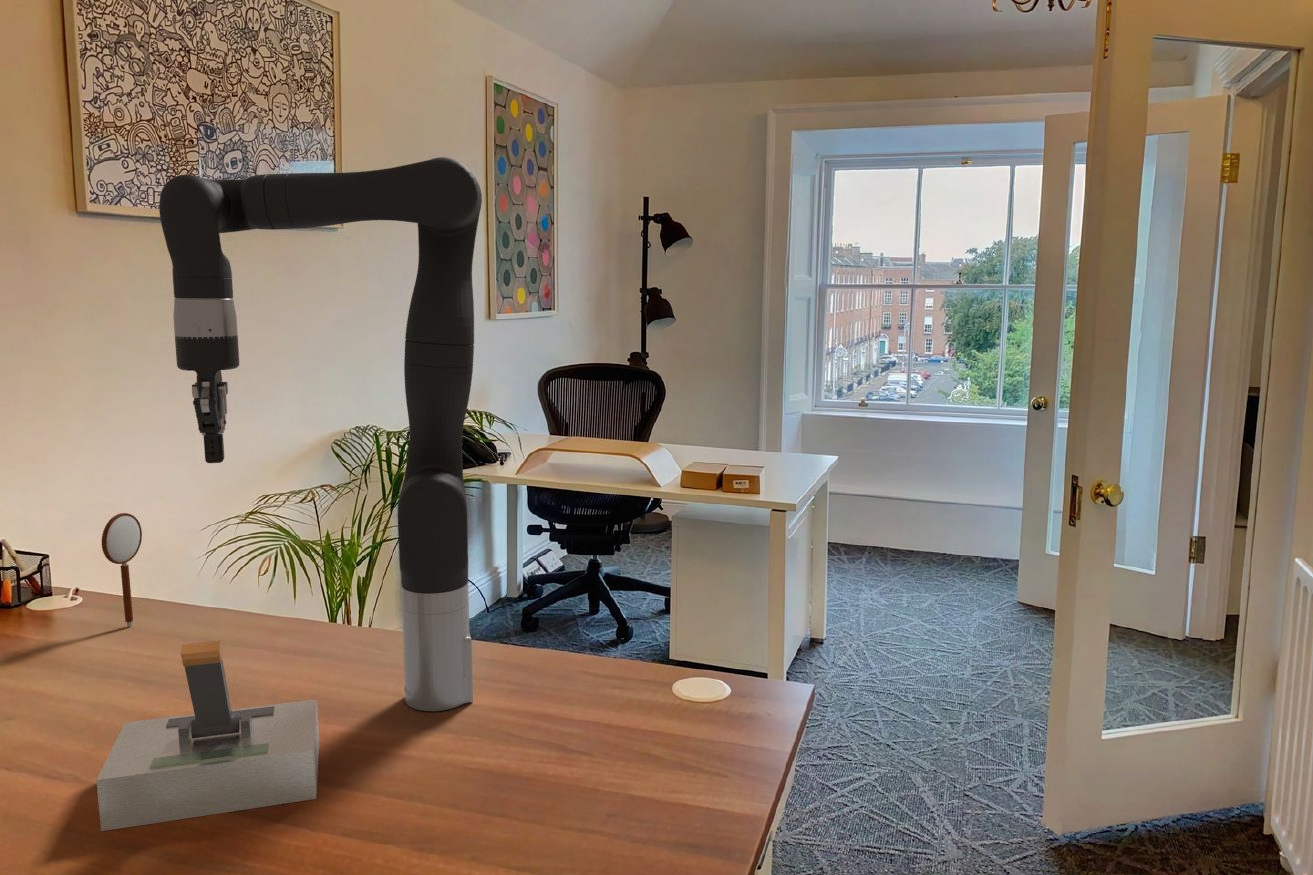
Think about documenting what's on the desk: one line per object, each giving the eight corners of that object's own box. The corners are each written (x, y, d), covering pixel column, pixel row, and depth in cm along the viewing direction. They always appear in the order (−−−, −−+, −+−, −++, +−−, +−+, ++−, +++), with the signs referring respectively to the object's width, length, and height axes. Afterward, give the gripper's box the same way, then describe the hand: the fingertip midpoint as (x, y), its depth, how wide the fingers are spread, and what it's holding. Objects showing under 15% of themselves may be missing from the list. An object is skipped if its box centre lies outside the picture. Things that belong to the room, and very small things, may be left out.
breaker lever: (240, 720, 113) (226, 637, 104) (239, 736, 111) (225, 652, 102) (194, 726, 111) (176, 642, 102) (192, 742, 109) (174, 657, 101)
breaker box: (319, 742, 122) (316, 684, 120) (316, 798, 108) (312, 734, 107) (128, 768, 115) (123, 706, 113) (101, 831, 102) (94, 762, 100)
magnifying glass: (115, 636, 157) (105, 520, 154) (106, 635, 157) (96, 519, 154) (151, 618, 165) (142, 508, 162) (143, 617, 166) (134, 507, 162)
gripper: (231, 335, 118) (240, 469, 121) (242, 330, 131) (249, 452, 134) (165, 336, 116) (176, 473, 119) (183, 330, 128) (191, 454, 131)
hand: (215, 461), depth 126 cm, fingers closed
